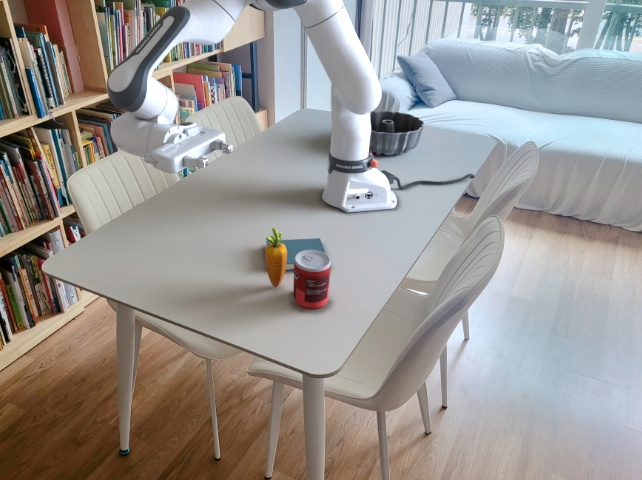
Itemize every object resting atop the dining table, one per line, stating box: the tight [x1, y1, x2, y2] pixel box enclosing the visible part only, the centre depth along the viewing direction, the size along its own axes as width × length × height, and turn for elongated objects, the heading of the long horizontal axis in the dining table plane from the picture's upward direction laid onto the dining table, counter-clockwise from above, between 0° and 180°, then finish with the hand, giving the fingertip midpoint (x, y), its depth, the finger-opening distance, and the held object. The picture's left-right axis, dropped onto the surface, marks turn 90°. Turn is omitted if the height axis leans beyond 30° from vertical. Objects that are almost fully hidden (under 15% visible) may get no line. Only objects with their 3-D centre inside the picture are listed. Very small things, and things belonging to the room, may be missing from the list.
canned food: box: [292, 250, 332, 311], centre depth 114 cm, size 8×8×11 cm
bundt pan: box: [369, 110, 425, 156], centre depth 192 cm, size 26×26×10 cm
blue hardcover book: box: [265, 237, 326, 272], centre depth 130 cm, size 14×11×2 cm
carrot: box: [264, 227, 287, 288], centre depth 116 cm, size 5×5×15 cm
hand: (218, 156), depth 116 cm, fingers open, 8 cm apart
